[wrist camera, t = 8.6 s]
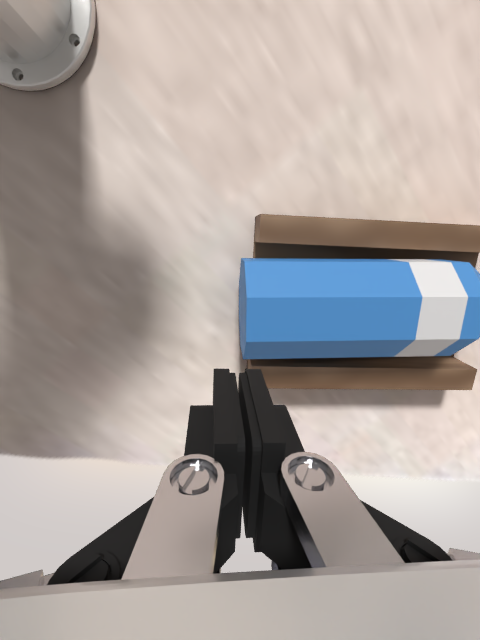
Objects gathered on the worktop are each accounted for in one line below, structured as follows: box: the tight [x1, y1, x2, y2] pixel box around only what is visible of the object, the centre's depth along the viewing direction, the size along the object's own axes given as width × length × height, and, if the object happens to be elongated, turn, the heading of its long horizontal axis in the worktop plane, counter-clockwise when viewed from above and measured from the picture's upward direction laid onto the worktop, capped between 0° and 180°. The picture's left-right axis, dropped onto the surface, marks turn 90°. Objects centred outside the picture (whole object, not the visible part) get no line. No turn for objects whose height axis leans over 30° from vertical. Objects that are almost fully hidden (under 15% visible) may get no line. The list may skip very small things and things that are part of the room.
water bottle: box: [239, 258, 480, 359], centre depth 29 cm, size 9×9×25 cm
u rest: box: [247, 214, 480, 390], centre depth 32 cm, size 17×24×4 cm
